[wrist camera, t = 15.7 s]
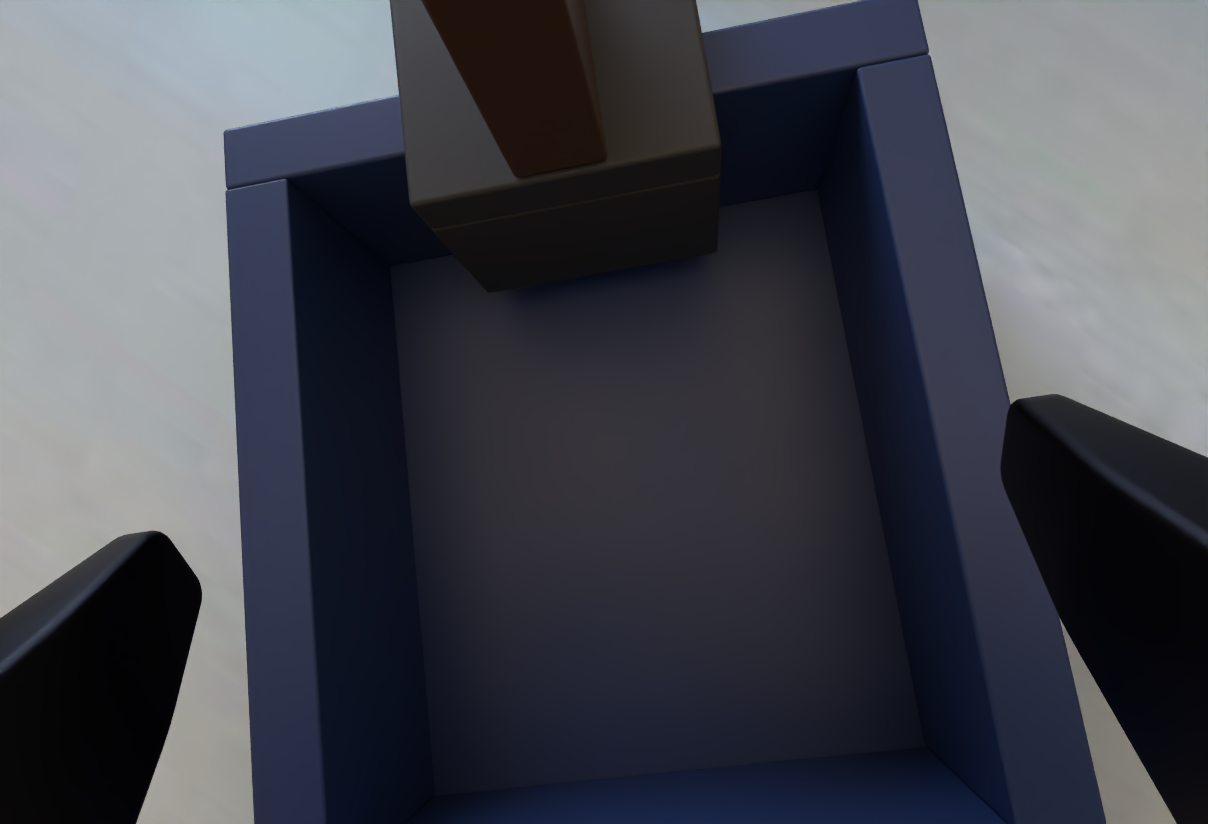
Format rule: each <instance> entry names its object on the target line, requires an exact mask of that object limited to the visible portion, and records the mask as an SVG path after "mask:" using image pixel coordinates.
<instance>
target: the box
mask: <svg viewBox="0 0 1208 824" xmlns="http://www.w3.org/2000/svg"><path fill="white" fill-rule="evenodd" d="M702 37H703V43H704V48H705V54H706V60H707V65H708V71H709V76H710V82H711V88H712V93H713V99H714V104H715V110H716V116H717V121H718V127H719V132H720V138H721V169H720V198H719V223H718V249H717V252H715V253H711V254H705V255H700V256H694V257H689V258H683V259H677V260H672V261H666V262H661V263H655V264H649V265H644V266H638V267H633V268H627V269H621V270H616V271H610V272H605V273H599V274H593V275H588V276H582V277H577V278H571V279H565V280H560V281H554V282H548V283H543V284H537V285H532V286H526V287H520V288H515V289H509V290H504V291H498V292H492V293H488V292H487V291H486V290H485V289H484V288H483V287H482V286H481V285H480V284H479V282H478V281H477V280H476V279H475V278H474V277H473V276H472V275H471V273H470V272H469V271H468V270H467V269H466V268H465V267H464V266H463V265H462V263H461V262H460V261H459V260H458V259H457V258H456V257H455V256H454V254H453V253H452V252H451V251H450V250H449V249H448V248H447V247H446V246H445V244H444V243H443V242H442V241H441V240H440V239H439V238H438V237H437V235H436V234H435V233H434V232H433V231H432V228H430V227H429V226H428V225H427V224H426V223H425V222H424V221H423V219H422V218H421V217H420V216H419V215H418V214H417V213H416V212H415V210H414V209H413V208H412V207H411V205H410V201H409V191H408V181H407V170H406V160H405V150H404V140H403V129H402V119H401V109H400V99H399V95H395V96H390V97H385V98H381V99H376V100H371V101H366V102H361V103H356V104H351V105H346V106H341V107H336V108H331V109H327V110H322V111H317V112H312V113H307V114H302V115H297V116H292V117H287V118H282V119H277V120H273V121H268V122H263V123H258V124H253V125H248V126H243V127H238V128H233V129H228V130H225V131H224V154H225V175H226V187H227V189H228V190H227V191H226V212H227V234H228V256H229V278H230V300H231V322H232V344H233V366H234V388H235V410H236V432H237V454H238V476H239V498H240V520H241V542H242V564H243V586H244V608H245V630H246V651H247V673H248V695H249V717H250V739H251V761H252V783H253V805H254V824H1106V819H1105V814H1104V810H1103V806H1102V801H1101V797H1100V792H1099V788H1098V784H1097V779H1096V775H1095V771H1094V766H1093V762H1092V758H1091V753H1090V749H1089V745H1088V740H1087V736H1086V731H1085V727H1084V723H1083V718H1082V714H1081V710H1080V705H1079V701H1078V697H1077V692H1076V688H1075V684H1074V679H1073V675H1072V671H1071V666H1070V662H1069V657H1068V653H1067V649H1066V644H1065V640H1064V636H1063V631H1062V627H1061V623H1060V618H1059V615H1058V612H1057V610H1056V608H1055V606H1054V604H1053V601H1052V599H1051V597H1050V595H1049V592H1048V590H1047V588H1046V585H1045V583H1044V581H1043V578H1042V576H1041V574H1040V571H1039V569H1038V567H1037V564H1036V562H1035V560H1034V557H1033V555H1032V552H1031V550H1030V548H1029V545H1028V543H1027V541H1026V538H1025V536H1024V534H1023V531H1022V529H1021V527H1020V524H1019V522H1018V520H1017V517H1016V515H1015V513H1014V510H1013V508H1012V506H1011V503H1010V501H1009V499H1008V496H1007V494H1006V492H1005V489H1004V486H1003V483H1002V479H1001V471H1000V464H1001V455H1002V448H1003V441H1004V433H1005V426H1006V418H1007V413H1008V409H1009V407H1010V400H1009V396H1008V392H1007V387H1006V383H1005V379H1004V374H1003V370H1002V366H1001V361H1000V357H999V353H998V348H997V344H996V339H995V335H994V331H993V326H992V322H991V318H990V313H989V309H988V305H987V300H986V296H985V292H984V287H983V283H982V278H981V274H980V270H979V265H978V261H977V257H976V252H975V248H974V244H973V239H972V235H971V231H970V226H969V222H968V217H967V213H966V209H965V204H964V200H963V196H962V191H961V187H960V183H959V178H958V174H957V170H956V165H955V161H954V156H953V152H952V148H951V143H950V139H949V135H948V130H947V126H946V122H945V117H944V113H943V109H942V104H941V100H940V96H939V91H938V87H937V82H936V78H935V74H934V69H933V65H932V61H931V57H930V55H928V53H929V48H928V44H927V40H926V35H925V31H924V27H923V22H922V18H921V13H920V9H919V5H918V0H862V1H857V2H852V3H847V4H842V5H837V6H832V7H827V8H822V9H818V10H813V11H808V12H803V13H798V14H793V15H788V16H783V17H778V18H773V19H768V20H764V21H759V22H754V23H749V24H744V25H739V26H734V27H729V28H724V29H719V30H714V31H710V32H705V33H702Z"/></svg>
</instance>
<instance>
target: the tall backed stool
mask: <svg viewBox="0 0 1208 824" xmlns="http://www.w3.org/2000/svg"><path fill="white" fill-rule="evenodd" d="M390 7H391V17H392V27H393V37H394V48H395V58H396V68H397V78H398V88H399V99H400V109H401V119H402V129H403V140H404V150H405V160H406V170H407V181H408V191H409V201H410V205H411V207H412V208H413V209H414V210H415V212H416V213H417V214H418V215H419V216H420V217H421V218H422V219H423V221H424V222H425V223H426V224H427V225H428V226H429V227H430V228H432V231H433V232H434V233H435V234H436V235H437V237H438V238H439V239H440V240H441V241H442V242H443V243H444V244H445V246H446V247H447V248H448V249H449V250H450V251H451V252H452V253H453V254H454V256H455V257H456V258H457V259H458V260H459V261H460V262H461V263H462V265H463V266H464V267H465V268H466V269H467V270H468V271H469V272H470V273H471V275H472V276H473V277H474V278H475V279H476V280H477V281H478V282H479V284H480V285H481V286H482V287H483V288H484V289H485V290H486V291H487V292H488V293H492V292H498V291H504V290H509V289H515V288H520V287H526V286H532V285H537V284H543V283H548V282H554V281H560V280H565V279H571V278H577V277H582V276H588V275H593V274H599V273H605V272H610V271H616V270H621V269H627V268H633V267H638V266H644V265H649V264H655V263H661V262H666V261H672V260H677V259H683V258H689V257H694V256H700V255H705V254H711V253H715V252H717V249H718V223H719V198H720V169H721V138H720V132H719V127H718V121H717V116H716V110H715V104H714V99H713V93H712V88H711V82H710V76H709V71H708V65H707V60H706V54H705V48H704V43H703V37H702V32H701V26H700V20H699V15H698V9H697V4H696V0H390Z"/></svg>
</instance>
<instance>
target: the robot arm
mask: <svg viewBox="0 0 1208 824" xmlns="http://www.w3.org/2000/svg"><path fill="white" fill-rule="evenodd" d="M1000 471H1001V479H1002V483H1003V486H1004V489H1005V492H1006V494H1007V496H1008V499H1009V501H1010V503H1011V506H1012V508H1013V510H1014V513H1015V515H1016V517H1017V520H1018V522H1019V524H1020V527H1021V529H1022V531H1023V534H1024V536H1025V538H1026V541H1027V543H1028V545H1029V548H1030V550H1031V552H1032V555H1033V557H1034V560H1035V562H1036V564H1037V567H1038V569H1039V571H1040V574H1041V576H1042V578H1043V581H1044V583H1045V585H1046V588H1047V590H1048V592H1049V595H1050V597H1051V599H1052V601H1053V604H1054V606H1055V608H1056V610H1057V612H1058V615H1059V617H1060V619H1061V621H1062V623H1063V625H1064V626H1065V628H1066V630H1067V632H1068V634H1069V636H1070V638H1071V639H1072V641H1073V643H1074V645H1075V647H1076V648H1077V650H1078V652H1079V654H1080V655H1081V657H1082V659H1083V661H1084V662H1085V664H1086V666H1087V668H1088V669H1089V671H1090V673H1091V675H1092V676H1093V678H1094V680H1095V682H1096V683H1097V685H1098V687H1099V688H1100V690H1101V692H1102V694H1103V695H1104V697H1105V699H1106V701H1107V702H1108V704H1109V706H1110V708H1111V709H1112V711H1113V713H1114V715H1115V716H1116V718H1117V720H1118V722H1119V723H1120V725H1121V727H1122V729H1123V730H1124V732H1125V734H1126V736H1127V737H1128V739H1129V741H1130V742H1131V744H1132V746H1133V748H1134V749H1135V751H1136V753H1137V755H1138V756H1139V758H1140V760H1141V762H1142V763H1143V765H1144V767H1145V769H1146V770H1147V772H1148V774H1149V776H1150V777H1151V779H1152V781H1153V783H1154V784H1155V786H1156V788H1157V790H1158V791H1159V793H1160V795H1161V796H1162V798H1163V800H1164V802H1165V803H1166V805H1167V807H1168V809H1169V810H1170V812H1171V814H1172V816H1173V817H1174V819H1175V821H1176V823H1177V824H1208V458H1207V457H1205V456H1203V455H1200V454H1198V453H1196V452H1193V451H1191V450H1189V449H1186V448H1184V447H1182V446H1179V445H1177V444H1175V443H1172V442H1170V441H1168V440H1165V439H1163V438H1161V437H1158V436H1156V435H1153V434H1151V433H1149V432H1146V431H1144V430H1142V429H1139V428H1137V427H1135V426H1132V425H1130V424H1128V423H1125V422H1123V421H1121V420H1118V419H1116V418H1114V417H1111V416H1109V415H1107V414H1104V413H1102V412H1100V411H1097V410H1095V409H1093V408H1090V407H1088V406H1086V405H1083V404H1081V403H1079V402H1076V401H1074V400H1072V399H1069V398H1067V397H1064V396H1061V395H1057V394H1049V395H1043V396H1036V397H1030V398H1023V399H1018V400H1016V401H1015V402H1013V403H1012V404H1011V405H1010V407H1009V409H1008V413H1007V418H1006V426H1005V433H1004V441H1003V448H1002V455H1001V464H1000ZM201 601H202V590H201V585H200V582H199V580H198V578H197V576H196V575H195V574H194V572H193V571H192V569H191V568H190V567H189V565H188V564H187V562H186V561H185V559H184V558H183V557H182V555H181V554H180V552H179V551H178V550H177V548H176V547H175V545H174V544H173V543H172V541H171V540H170V539H169V538H168V536H166V535H165V534H163V533H161V532H158V531H147V532H140V533H134V534H127V535H123V536H121V537H118V538H116V539H115V540H113V541H112V542H110V543H109V544H107V545H106V546H104V547H103V548H102V549H100V550H99V551H97V552H96V553H94V554H93V555H91V556H90V557H89V558H87V559H86V560H84V561H83V562H81V563H80V564H78V565H77V566H75V567H74V568H73V569H71V570H70V571H68V572H67V573H65V574H64V575H62V576H61V577H60V578H58V579H57V580H55V581H54V582H52V583H51V584H49V585H48V586H46V587H45V588H44V589H42V590H41V591H39V592H38V593H36V594H35V595H33V596H32V597H31V598H29V599H28V600H26V601H25V602H23V603H22V604H20V605H19V606H17V607H16V608H15V609H13V610H12V611H10V612H9V613H7V614H6V615H4V616H3V617H2V618H0V824H136V822H137V819H138V816H139V814H140V811H141V808H142V805H143V803H144V800H145V797H146V794H147V791H148V789H149V786H150V783H151V780H152V777H153V775H154V772H155V769H156V766H157V763H158V761H159V758H160V755H161V752H162V749H163V746H164V743H165V740H166V737H167V734H168V731H169V728H170V724H171V720H172V717H173V713H174V710H175V706H176V702H177V698H178V694H179V690H180V686H181V682H182V678H183V674H184V670H185V666H186V662H187V658H188V654H189V650H190V646H191V642H192V638H193V634H194V630H195V626H196V622H197V618H198V614H199V610H200V606H201Z"/></svg>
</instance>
